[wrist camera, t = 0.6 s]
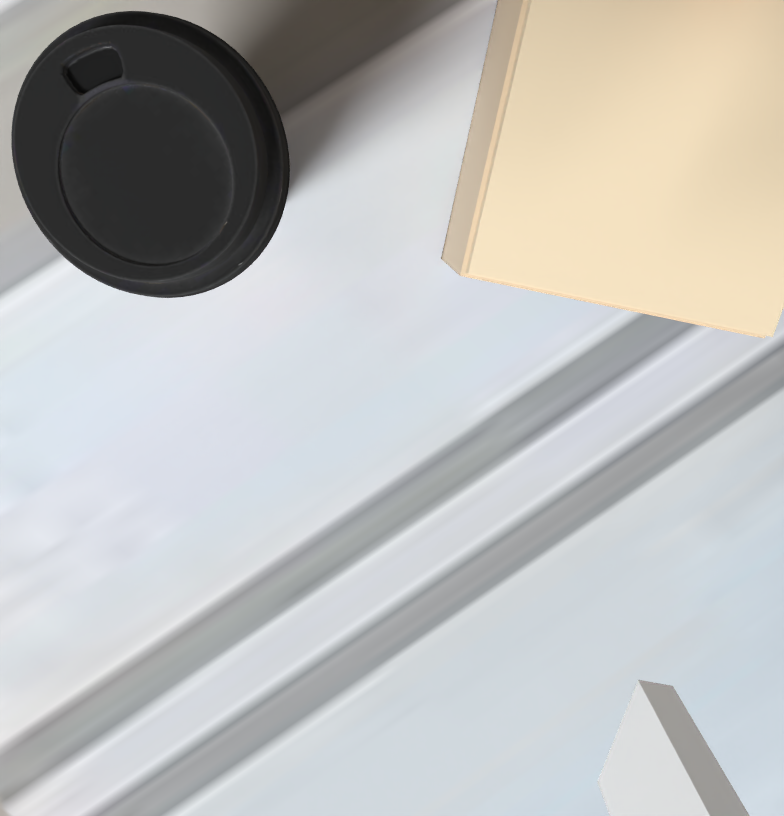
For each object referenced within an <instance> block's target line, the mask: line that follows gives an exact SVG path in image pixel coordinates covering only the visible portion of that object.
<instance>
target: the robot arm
mask: <svg viewBox="0 0 784 816" xmlns="http://www.w3.org/2000/svg"><path fill="white" fill-rule="evenodd" d="M597 782H598V785H599V788H600V790H601V793H602V796H603V799H604V801H605V804H606V807H607V809H608V812H609V815H610V816H749V814H748V812H747V811H746V809H745V807H744V806H743V804H742V802H741V801H740V799H739V797H738V796H737V794H736V792H735V790H734V789H733V787H732V785H731V784H730V782H729V780H728V779H727V777H726V775H725V774H724V772H723V770H722V768H721V767H720V765H719V763H718V762H717V760H716V758H715V757H714V755H713V753H712V752H711V750H710V748H709V747H708V745H707V743H706V741H705V740H704V738H703V736H702V735H701V733H700V731H699V730H698V728H697V726H696V725H695V723H694V721H693V719H692V718H691V716H690V714H689V713H688V711H687V709H686V708H685V706H684V704H683V703H682V701H681V699H680V697H679V696H678V694H677V692H676V691H675V689H674V687H673V686H670V685H664V684H658V683H653V682H647V681H642V680H638V681H637V684H636V686H635V689H634V691H633V694H632V696H631V699H630V701H629V704H628V706H627V709H626V711H625V714H624V716H623V719H622V721H621V724H620V726H619V729H618V731H617V734H616V736H615V739H614V741H613V744H612V746H611V749H610V751H609V754H608V756H607V759H606V761H605V764H604V766H603V769H602V771H601V774H600V776H599V779H598V781H597Z"/></svg>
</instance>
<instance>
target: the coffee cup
mask: <svg viewBox="0 0 784 816" xmlns="http://www.w3.org/2000/svg"><path fill="white" fill-rule="evenodd" d="M12 156H13V163H14V169H15V173H16V177H17V181H18V185H19V188H20V190H21V193H22V196H23V198H24V201H25V203H26V205H27V208H28V209H29V211H30V213H31V215H32V217H33V219H34V220H35V222H36V224H37V225H38V227H39V228H40V230H41V231H42V232H43V234H44V235H45V236H46V238H47V239H48V240H49V242H50V243H51V244H52V245H53V246H54V247H55V248H56V249H57V250H58V251H59V252H60V253H61V254H62V255H63V256H64V257H65V258H66V259H67V260H68V261H69V262H71V263H72V264H73V265H74V266H76V267H77V268H78V269H80V270H81V271H83V272H84V273H86V274H87V275H89V276H91V277H92V278H94V279H96V280H98V281H100V282H102V283H104V284H106V285H108V286H111V287H113V288H116V289H119V290H122V291H126V292H129V293H134V294H139V295H144V296H151V297H161V298H173V297H185V296H191V295H196V294H199V293H203V292H206V291H209V290H212V289H215V288H217V287H219V286H221V285H223V284H225V283H227V282H228V281H230V280H232V279H234V278H235V277H236V276H238V275H239V274H240V273H242V272H243V271H244V270H245V269H247V268H248V267H249V266H250V265H251V264H252V263H253V262H254V261H255V260H256V259H257V258H258V257H259V256H260V254H261V253H262V252H263V250H264V249H265V248H266V246H267V245H268V243H269V242H270V240H271V238H272V237H273V235H274V233H275V231H276V229H277V227H278V225H279V222H280V219H281V217H282V214H283V211H284V207H285V204H286V199H287V194H288V187H289V172H290V165H289V152H288V145H287V139H286V135H285V131H284V127H283V124H282V121H281V118H280V115H279V112H278V110H277V108H276V105H275V103H274V101H273V99H272V97H271V95H270V93H269V91H268V90H267V88H266V86H265V85H264V83H263V82H262V80H261V79H260V77H259V76H258V75H257V73H256V72H255V71H254V69H253V68H252V67H251V66H250V65H249V64H248V62H247V61H246V60H245V59H244V58H243V57H242V56H241V55H240V54H239V53H238V52H237V51H236V50H235V49H233V48H232V47H231V46H230V45H228V44H227V43H226V42H225V41H223V40H222V39H220V38H219V37H217V36H216V35H214V34H213V33H211V32H209V31H208V30H206V29H204V28H202V27H200V26H198V25H196V24H193V23H191V22H189V21H186V20H183V19H180V18H177V17H173V16H168V15H164V14H158V13H151V12H142V11H125V12H115V13H109V14H104V15H101V16H97V17H94V18H91V19H89V20H86V21H84V22H81V23H80V24H78V25H76V26H74V27H72V28H70V29H69V30H67V31H66V32H64V33H63V34H61V35H60V36H59V37H58V38H56V39H55V40H54V41H53V42H52V43H51V44H50V45H49V46H48V47H47V48H46V49H45V50H44V51H43V52H42V53H41V55H40V56H39V57H38V58H37V60H36V61H35V62H34V64H33V66H32V67H31V69H30V70H29V72H28V74H27V76H26V78H25V80H24V82H23V84H22V87H21V89H20V92H19V95H18V98H17V102H16V105H15V110H14V115H13V122H12Z"/></svg>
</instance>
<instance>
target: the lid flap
mask: <svg viewBox="0 0 784 816" xmlns="http://www.w3.org/2000/svg"><path fill="white" fill-rule="evenodd" d="M466 273H467V274H470V275H475V276H480V277H485V278H490V279H494V280H499V281H504V282H509V283H514V284H519V285H524V286H528V287H533V288H538V289H543V290H548V291H553V292H557V293H562V294H567V295H572V296H577V297H582V298H587V299H591V300H596V301H601V302H606V303H611V304H616V305H621V306H625V307H630V308H635V309H640V310H645V311H650V312H654V313H659V314H664V315H669V316H674V317H679V318H684V319H688V320H693V321H698V322H703V323H708V324H713V325H718V326H722V327H727V328H732V329H737V330H742V331H747V332H751V333H756V334H761V335H766V336H771V337H773V334H774V332H775V329H776V326H777V324H778V321H779V318H780V316H781V313H782V310H783V307H784V0H529V1H528V5H527V9H526V14H525V18H524V22H523V27H522V31H521V35H520V40H519V44H518V48H517V53H516V57H515V61H514V66H513V70H512V74H511V79H510V83H509V87H508V92H507V96H506V100H505V105H504V109H503V113H502V118H501V122H500V126H499V130H498V135H497V139H496V143H495V148H494V152H493V156H492V161H491V165H490V169H489V174H488V178H487V182H486V187H485V191H484V195H483V200H482V204H481V208H480V213H479V217H478V221H477V226H476V230H475V234H474V239H473V243H472V247H471V252H470V256H469V260H468V265H467V269H466Z"/></svg>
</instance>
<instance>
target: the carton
mask: <svg viewBox="0 0 784 816" xmlns="http://www.w3.org/2000/svg"><path fill="white" fill-rule="evenodd" d="M528 1H529V0H498V2H497V7H496V12H495V16H494V21H493V25H492V30H491V34H490V39H489V43H488V48H487V52H486V57H485V62H484V66H483V71H482V75H481V80H480V84H479V89H478V93H477V98H476V103H475V107H474V112H473V116H472V121H471V125H470V130H469V134H468V139H467V143H466V148H465V153H464V157H463V162H462V166H461V171H460V175H459V180H458V184H457V189H456V194H455V198H454V203H453V207H452V212H451V216H450V221H449V225H448V230H447V234H446V239H445V244H444V248H443V253H442V257H441V259H442V260H443V261H444V262H445V263H446V264H448V265H449V266H450V267H451V268H452V269H453V270H454V271H455V272H456V273H458V274H459V275H460V276H464V277H469V278H473V279H478V280H483V281H488V282H493V283H498V284H503V285H507V286H512V287H517V288H522V289H527V290H532V291H537V292H541V293H546V294H551V295H556V296H561V297H566V298H571V299H576V300H580V301H585V302H590V303H595V304H600V305H605V306H610V307H614V308H619V309H624V310H629V311H634V312H639V313H644V314H648V315H653V316H658V317H663V318H668V319H673V320H678V321H682V322H687V323H692V324H697V325H702V326H707V327H712V328H716V329H721V330H726V331H731V332H736V333H741V334H746V335H750V336H755V337H760V338H765V336H766V335H761V334H756V333H751V332H747V331H742V330H737V329H732V328H727V327H722V326H718V325H713V324H708V323H703V322H698V321H693V320H688V319H684V318H679V317H674V316H669V315H664V314H659V313H654V312H650V311H645V310H640V309H635V308H630V307H625V306H621V305H616V304H611V303H606V302H601V301H596V300H591V299H587V298H582V297H577V296H572V295H567V294H562V293H557V292H553V291H548V290H543V289H538V288H533V287H528V286H524V285H519V284H514V283H509V282H504V281H499V280H494V279H490V278H485V277H480V276H475V275H470V274H467V273H466V269H467V265H468V260H469V256H470V252H471V247H472V243H473V239H474V234H475V230H476V226H477V221H478V217H479V213H480V208H481V204H482V200H483V195H484V191H485V187H486V182H487V178H488V174H489V169H490V165H491V161H492V156H493V152H494V148H495V143H496V139H497V135H498V130H499V126H500V122H501V118H502V113H503V109H504V105H505V100H506V96H507V92H508V87H509V83H510V79H511V74H512V70H513V66H514V61H515V57H516V53H517V48H518V44H519V40H520V35H521V31H522V27H523V22H524V18H525V14H526V9H527V5H528Z"/></svg>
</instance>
